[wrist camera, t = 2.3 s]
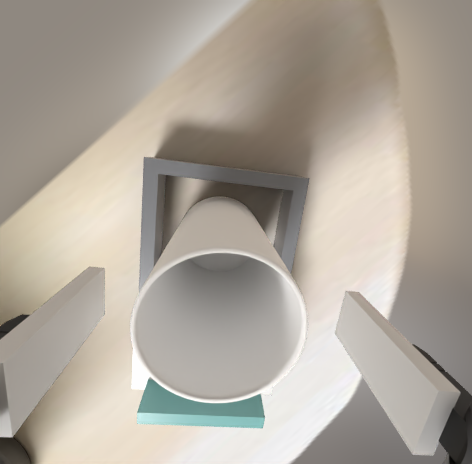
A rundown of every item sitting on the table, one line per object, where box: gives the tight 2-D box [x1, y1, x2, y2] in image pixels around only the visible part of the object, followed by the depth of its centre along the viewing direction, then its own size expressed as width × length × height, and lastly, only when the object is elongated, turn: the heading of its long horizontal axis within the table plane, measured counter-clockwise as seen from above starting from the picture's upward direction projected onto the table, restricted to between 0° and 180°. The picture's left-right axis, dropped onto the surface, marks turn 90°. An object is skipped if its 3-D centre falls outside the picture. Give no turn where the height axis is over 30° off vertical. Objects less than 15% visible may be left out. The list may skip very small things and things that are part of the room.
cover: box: [132, 349, 273, 428], centre depth 24 cm, size 14×9×4 cm
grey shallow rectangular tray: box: [139, 157, 309, 292], centre depth 27 cm, size 14×22×4 cm, turn 173°
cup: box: [130, 196, 308, 403], centre depth 20 cm, size 8×8×16 cm
